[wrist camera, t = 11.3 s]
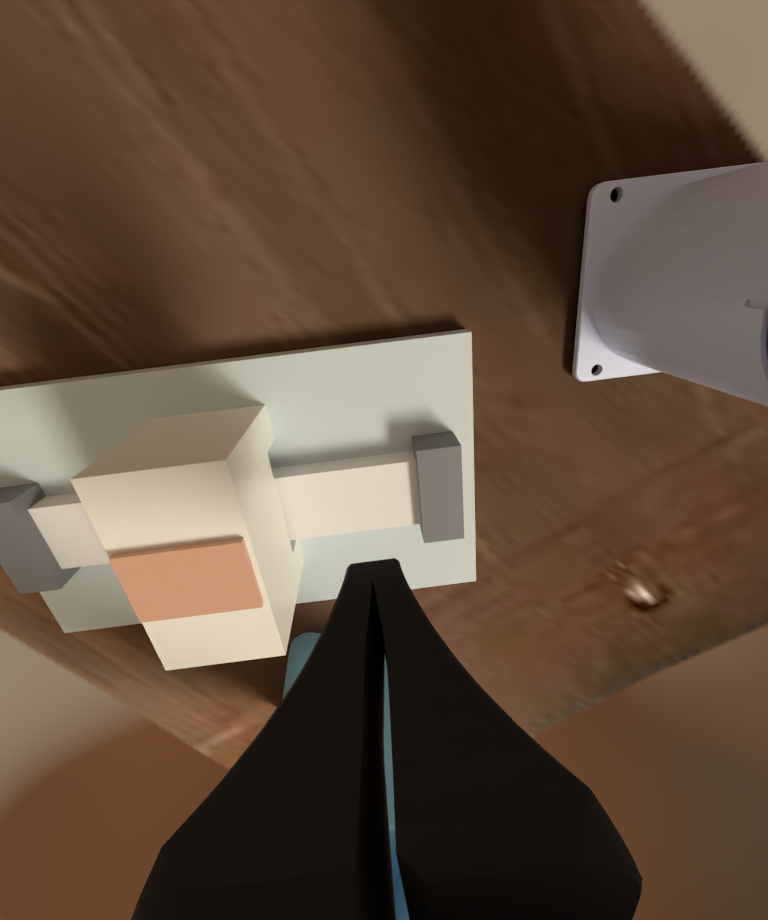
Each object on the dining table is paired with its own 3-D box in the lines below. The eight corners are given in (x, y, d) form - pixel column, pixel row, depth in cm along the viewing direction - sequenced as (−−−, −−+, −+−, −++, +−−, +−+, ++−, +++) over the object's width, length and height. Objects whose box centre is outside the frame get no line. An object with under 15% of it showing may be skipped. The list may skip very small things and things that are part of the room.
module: (265, 404, 18) (222, 464, 13) (303, 561, 22) (284, 661, 16) (155, 418, 18) (64, 483, 13) (213, 573, 22) (162, 677, 16)
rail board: (465, 329, 18) (483, 337, 16) (471, 569, 24) (484, 603, 22) (-59, 394, 18) (-126, 413, 16) (75, 619, 24) (42, 660, 22)
